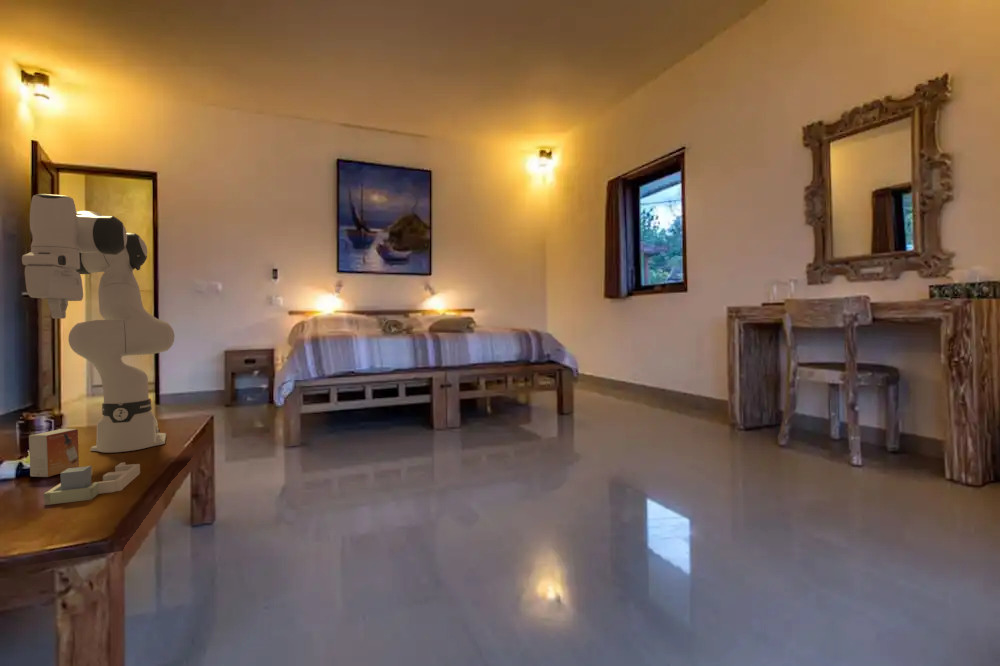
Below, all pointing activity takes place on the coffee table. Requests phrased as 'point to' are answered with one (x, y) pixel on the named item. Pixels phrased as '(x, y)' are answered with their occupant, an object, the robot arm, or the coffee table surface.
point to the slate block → (76, 478)
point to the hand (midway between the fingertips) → (58, 318)
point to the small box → (53, 452)
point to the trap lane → (95, 486)
